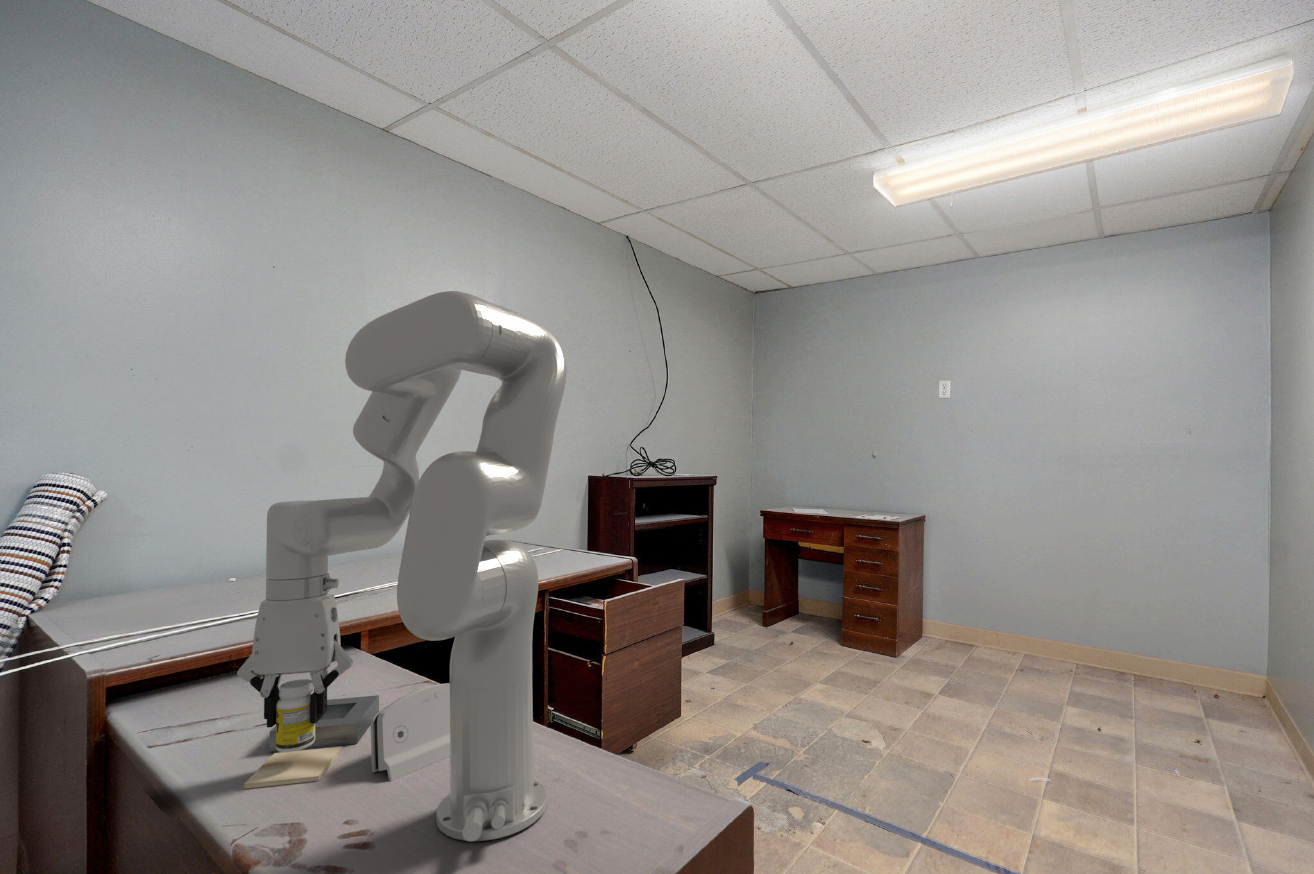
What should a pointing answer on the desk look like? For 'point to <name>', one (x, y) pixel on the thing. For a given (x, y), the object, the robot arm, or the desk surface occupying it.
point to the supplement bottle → (294, 716)
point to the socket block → (341, 722)
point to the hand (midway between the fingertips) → (295, 720)
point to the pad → (293, 767)
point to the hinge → (412, 732)
